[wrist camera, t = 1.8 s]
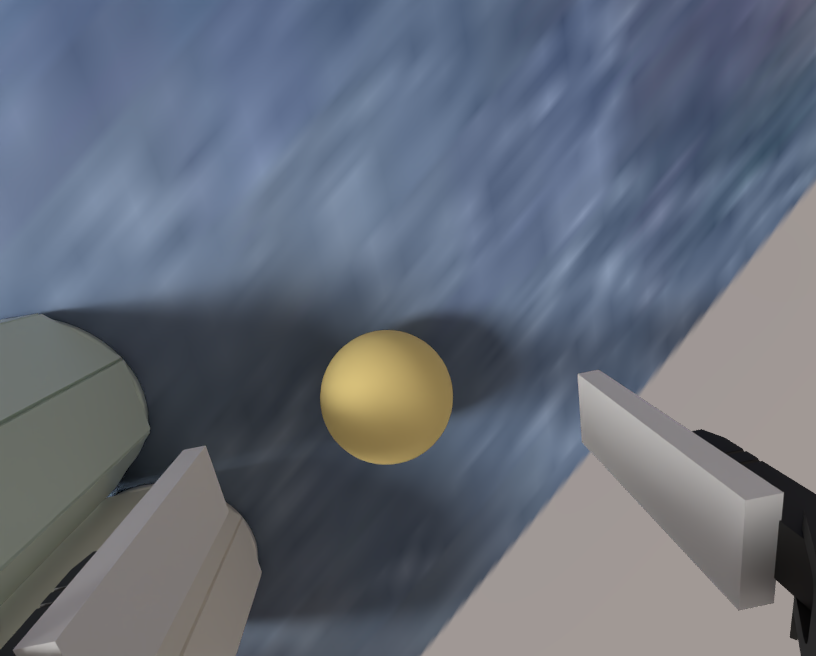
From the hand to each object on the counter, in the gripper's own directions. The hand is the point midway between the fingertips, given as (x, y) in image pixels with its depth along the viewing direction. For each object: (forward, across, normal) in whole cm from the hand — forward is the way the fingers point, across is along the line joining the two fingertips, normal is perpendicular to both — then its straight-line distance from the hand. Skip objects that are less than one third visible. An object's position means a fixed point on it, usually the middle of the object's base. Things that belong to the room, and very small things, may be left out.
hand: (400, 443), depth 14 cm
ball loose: (+4, 0, 0) cm, 4 cm away
